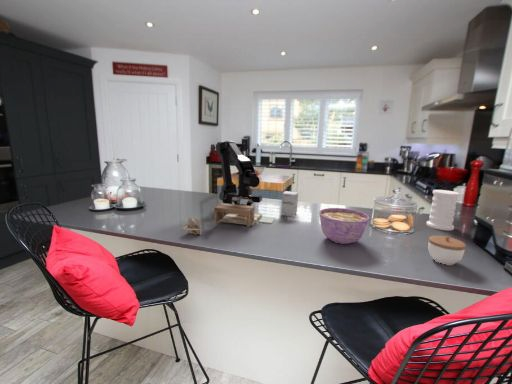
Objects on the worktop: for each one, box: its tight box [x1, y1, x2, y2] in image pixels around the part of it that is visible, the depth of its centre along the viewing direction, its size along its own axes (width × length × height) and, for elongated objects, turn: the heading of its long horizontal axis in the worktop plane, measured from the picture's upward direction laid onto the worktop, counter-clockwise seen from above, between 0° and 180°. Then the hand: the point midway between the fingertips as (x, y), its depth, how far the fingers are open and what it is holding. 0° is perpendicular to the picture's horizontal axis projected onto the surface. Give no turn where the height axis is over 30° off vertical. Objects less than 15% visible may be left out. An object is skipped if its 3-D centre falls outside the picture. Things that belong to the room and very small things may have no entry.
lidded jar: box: [427, 235, 467, 266], centre depth 93 cm, size 11×11×9 cm
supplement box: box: [280, 190, 299, 217], centre depth 145 cm, size 7×7×13 cm
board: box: [220, 212, 263, 226], centre depth 136 cm, size 16×17×2 cm
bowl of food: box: [318, 207, 370, 245], centre depth 110 cm, size 20×20×12 cm
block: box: [239, 203, 247, 217], centre depth 137 cm, size 4×4×7 cm
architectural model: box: [182, 217, 202, 236], centre depth 112 cm, size 3×7×7 cm, turn 85°
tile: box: [258, 215, 276, 225], centre depth 134 cm, size 9×6×1 cm
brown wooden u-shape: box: [213, 202, 256, 228], centre depth 124 cm, size 9×17×7 cm, turn 74°
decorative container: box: [426, 189, 460, 231], centre depth 131 cm, size 12×12×18 cm
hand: (243, 213), depth 137 cm, fingers closed on block, 4 cm apart
